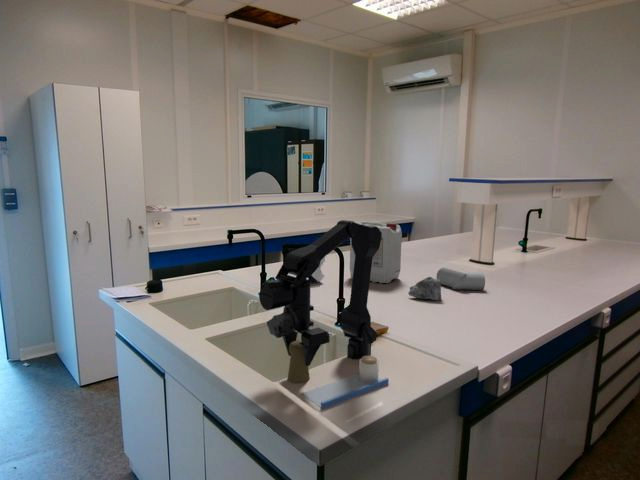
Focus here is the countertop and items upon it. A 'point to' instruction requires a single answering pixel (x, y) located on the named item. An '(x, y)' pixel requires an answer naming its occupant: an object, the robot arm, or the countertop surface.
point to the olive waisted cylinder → (297, 364)
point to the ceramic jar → (368, 369)
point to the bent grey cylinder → (461, 279)
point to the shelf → (341, 390)
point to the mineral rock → (427, 289)
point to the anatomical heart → (319, 272)
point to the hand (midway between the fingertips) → (298, 360)
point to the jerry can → (383, 253)
